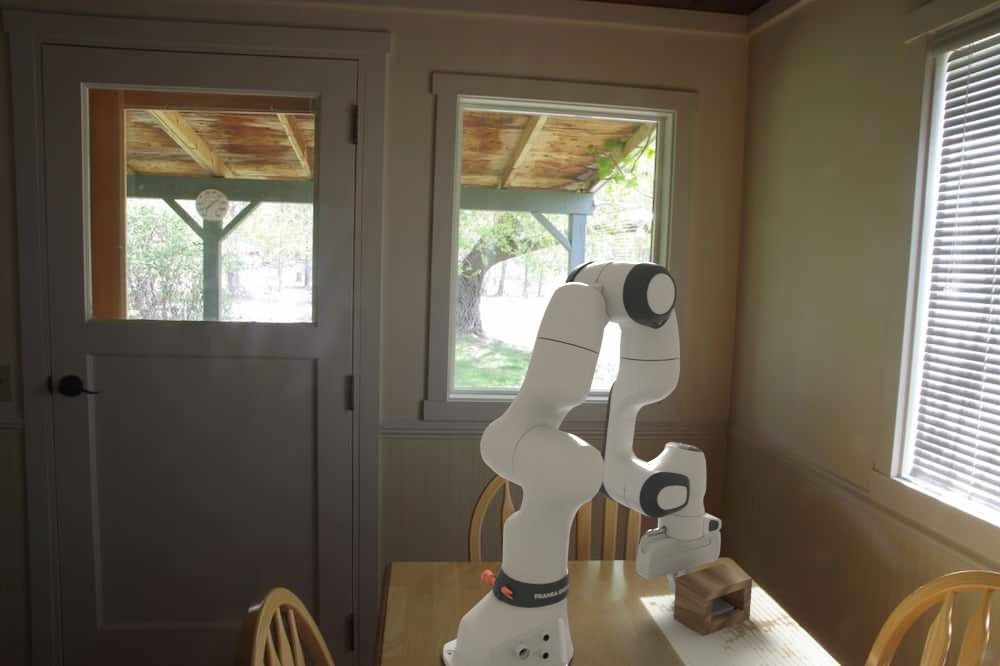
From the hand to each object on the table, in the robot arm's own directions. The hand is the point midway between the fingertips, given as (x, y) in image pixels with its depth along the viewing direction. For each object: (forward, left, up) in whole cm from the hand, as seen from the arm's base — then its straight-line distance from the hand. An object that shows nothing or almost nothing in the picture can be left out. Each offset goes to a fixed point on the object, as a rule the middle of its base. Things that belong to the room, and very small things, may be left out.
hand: (676, 589), depth 130 cm
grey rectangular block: (0, -7, -2) cm, 7 cm away
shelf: (0, -9, -2) cm, 9 cm away
